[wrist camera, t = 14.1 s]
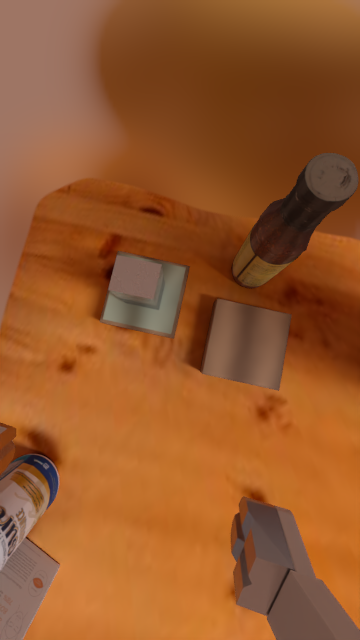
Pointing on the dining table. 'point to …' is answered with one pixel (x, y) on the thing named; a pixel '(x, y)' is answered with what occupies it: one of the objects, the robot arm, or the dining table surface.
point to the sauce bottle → (294, 219)
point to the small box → (23, 588)
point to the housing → (137, 282)
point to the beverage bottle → (24, 499)
